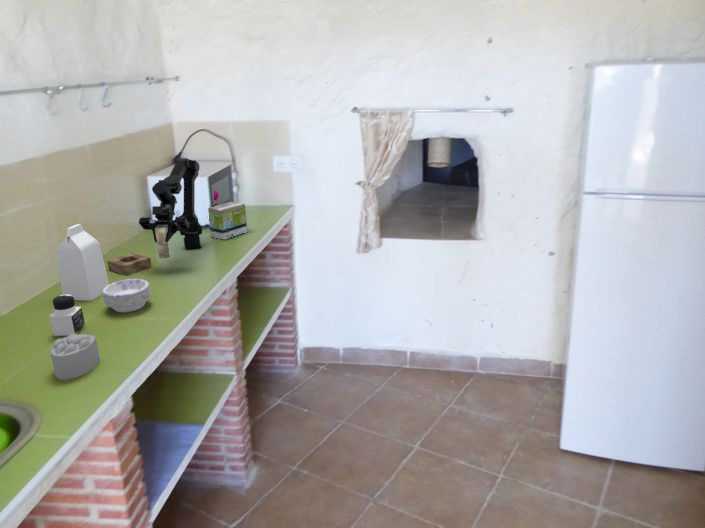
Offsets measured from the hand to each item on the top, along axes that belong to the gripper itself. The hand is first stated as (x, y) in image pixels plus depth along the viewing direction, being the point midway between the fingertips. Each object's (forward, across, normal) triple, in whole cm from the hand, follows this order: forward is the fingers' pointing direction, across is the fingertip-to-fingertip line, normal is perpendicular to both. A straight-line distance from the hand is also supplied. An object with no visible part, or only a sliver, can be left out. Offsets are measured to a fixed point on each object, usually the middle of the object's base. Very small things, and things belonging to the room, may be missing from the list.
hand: (160, 242), depth 236 cm
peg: (+4, 0, +6) cm, 7 cm away
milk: (+24, -22, -4) cm, 33 cm away
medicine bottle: (+46, -12, -27) cm, 55 cm away
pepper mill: (-40, 0, +59) cm, 71 cm away
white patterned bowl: (+33, -1, -13) cm, 35 cm away
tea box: (-28, +12, +47) cm, 56 cm away
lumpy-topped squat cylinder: (+63, +2, -43) cm, 76 cm away
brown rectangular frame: (+5, -18, +14) cm, 23 cm away
